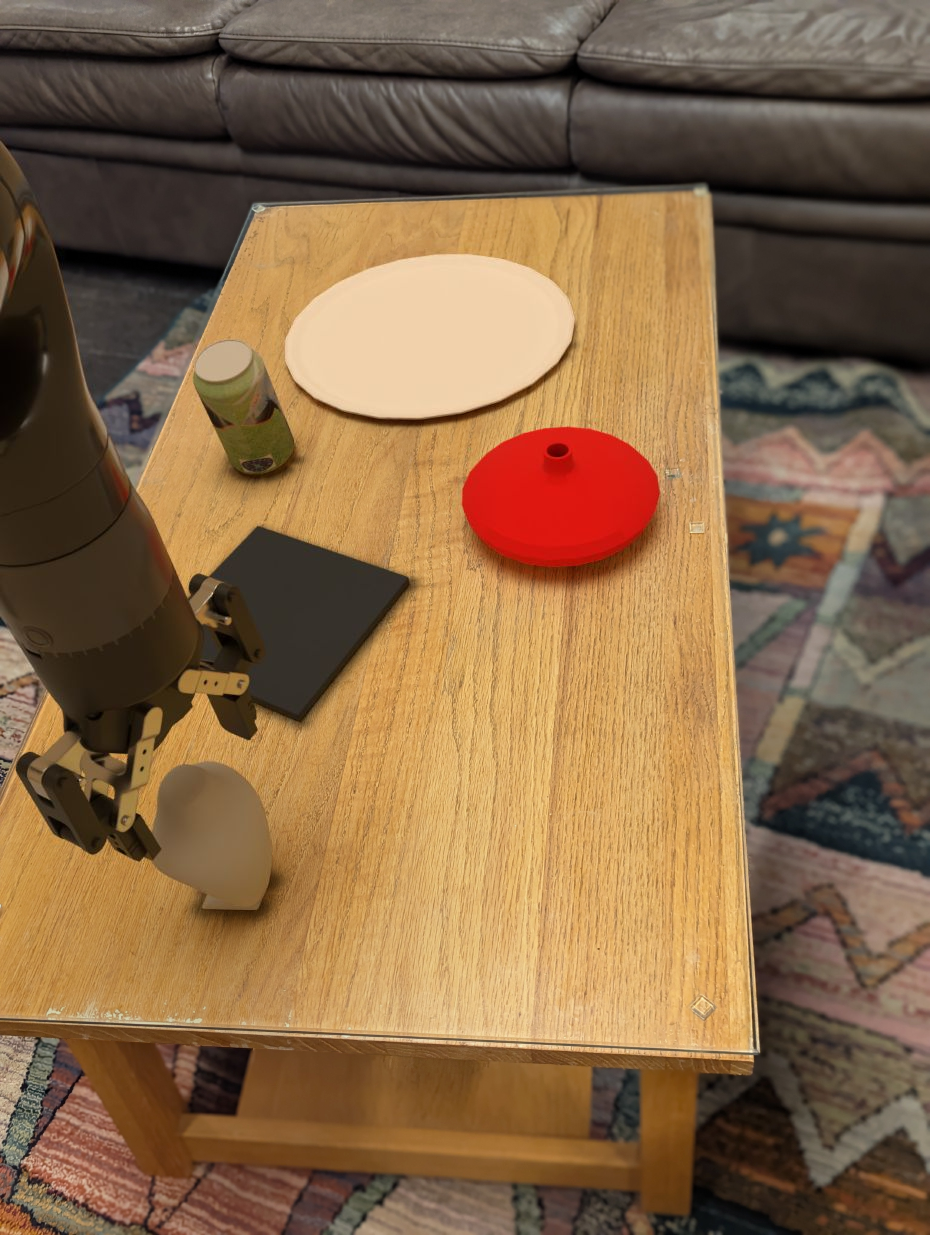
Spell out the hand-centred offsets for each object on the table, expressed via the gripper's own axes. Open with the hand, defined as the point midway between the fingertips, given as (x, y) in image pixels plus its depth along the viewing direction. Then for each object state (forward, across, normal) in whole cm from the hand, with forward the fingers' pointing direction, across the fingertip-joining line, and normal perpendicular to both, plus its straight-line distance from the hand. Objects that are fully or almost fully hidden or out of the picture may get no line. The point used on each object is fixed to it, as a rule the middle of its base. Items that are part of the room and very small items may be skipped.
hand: (194, 788), depth 60 cm
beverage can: (+12, -35, -25) cm, 44 cm away
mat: (+11, -20, -12) cm, 26 cm away
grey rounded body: (+11, 0, 0) cm, 11 cm away
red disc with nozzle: (+12, -39, +3) cm, 41 cm away
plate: (+12, -58, -21) cm, 63 cm away
